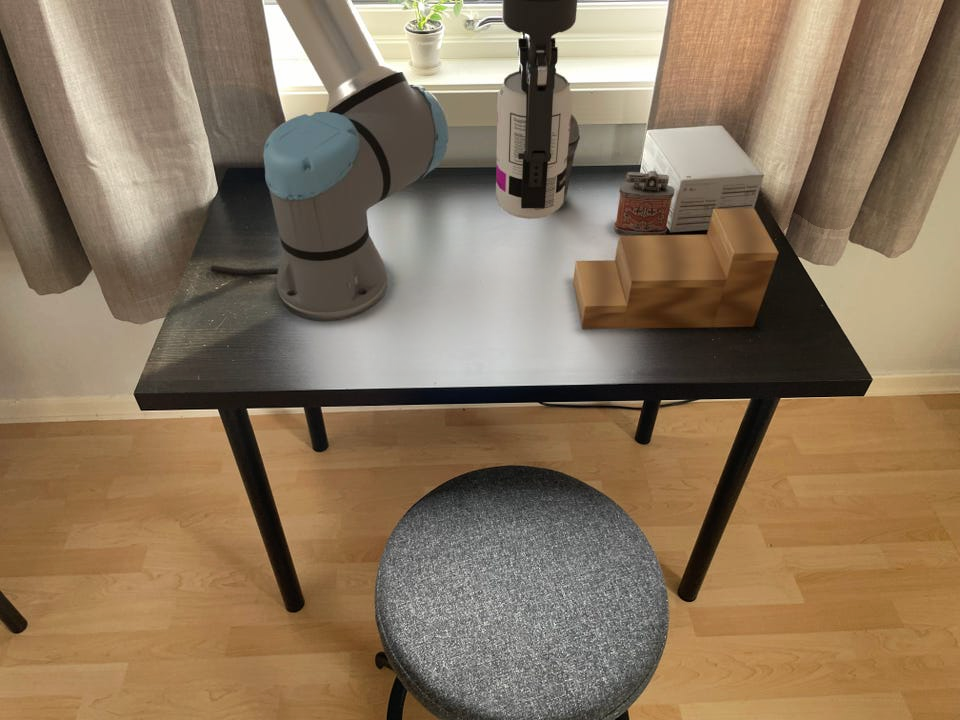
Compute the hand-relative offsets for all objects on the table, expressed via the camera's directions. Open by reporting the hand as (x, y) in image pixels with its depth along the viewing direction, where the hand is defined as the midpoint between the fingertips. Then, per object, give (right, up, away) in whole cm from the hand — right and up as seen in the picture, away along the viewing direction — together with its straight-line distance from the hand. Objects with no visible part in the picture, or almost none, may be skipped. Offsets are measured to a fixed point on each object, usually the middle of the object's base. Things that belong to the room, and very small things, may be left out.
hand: (530, 186), depth 88 cm
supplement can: (0, -2, +2) cm, 2 cm away
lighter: (+19, -1, +27) cm, 33 cm away
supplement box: (+29, +5, +33) cm, 44 cm away
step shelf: (+19, -13, +13) cm, 27 cm away
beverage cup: (+6, +5, +33) cm, 34 cm away
